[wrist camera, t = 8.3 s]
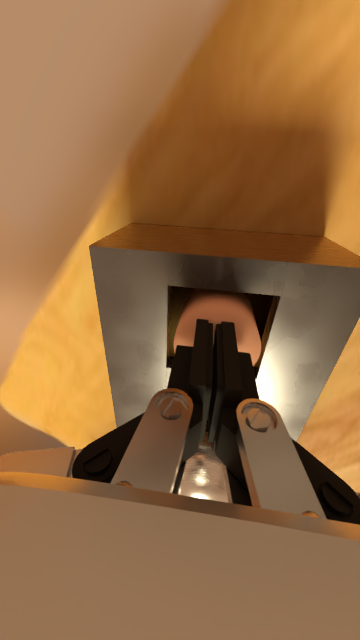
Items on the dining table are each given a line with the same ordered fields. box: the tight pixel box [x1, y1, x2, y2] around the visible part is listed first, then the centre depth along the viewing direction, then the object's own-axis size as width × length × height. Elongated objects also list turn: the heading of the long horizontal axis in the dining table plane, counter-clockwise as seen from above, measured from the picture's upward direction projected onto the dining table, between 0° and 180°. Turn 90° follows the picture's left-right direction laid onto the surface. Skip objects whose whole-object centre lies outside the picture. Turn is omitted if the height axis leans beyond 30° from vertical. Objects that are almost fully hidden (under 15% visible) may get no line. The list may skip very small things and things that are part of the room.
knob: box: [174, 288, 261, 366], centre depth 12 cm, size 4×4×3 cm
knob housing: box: [89, 223, 360, 441], centre depth 19 cm, size 12×26×6 cm, turn 177°
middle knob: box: [179, 432, 228, 503], centre depth 15 cm, size 4×4×3 cm
